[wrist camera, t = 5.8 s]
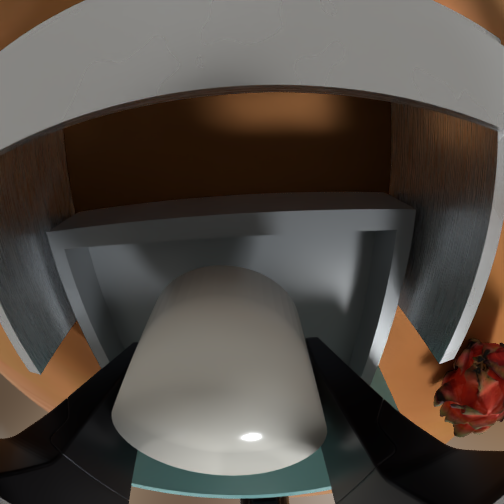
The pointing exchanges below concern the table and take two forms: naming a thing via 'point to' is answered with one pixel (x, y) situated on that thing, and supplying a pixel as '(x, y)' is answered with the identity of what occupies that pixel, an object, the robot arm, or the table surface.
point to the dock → (258, 81)
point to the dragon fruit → (474, 389)
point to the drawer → (250, 257)
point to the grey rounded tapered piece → (222, 378)
